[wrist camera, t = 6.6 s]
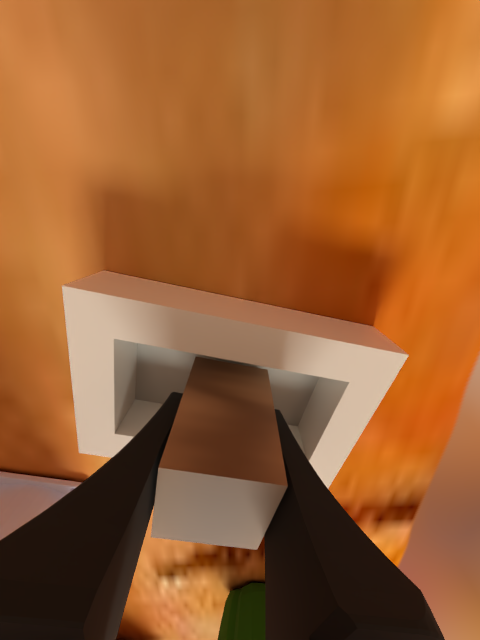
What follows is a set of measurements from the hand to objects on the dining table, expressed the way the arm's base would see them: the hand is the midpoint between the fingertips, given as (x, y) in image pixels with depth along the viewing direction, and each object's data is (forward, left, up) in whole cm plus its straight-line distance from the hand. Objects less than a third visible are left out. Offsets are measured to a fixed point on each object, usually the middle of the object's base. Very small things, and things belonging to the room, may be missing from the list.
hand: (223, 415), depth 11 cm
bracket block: (0, 0, -2) cm, 2 cm away
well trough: (0, 0, -3) cm, 3 cm away
